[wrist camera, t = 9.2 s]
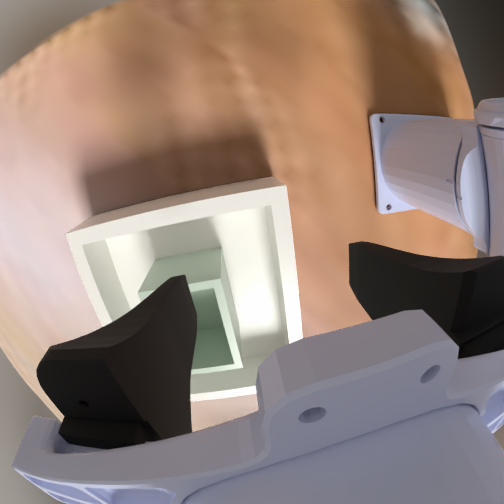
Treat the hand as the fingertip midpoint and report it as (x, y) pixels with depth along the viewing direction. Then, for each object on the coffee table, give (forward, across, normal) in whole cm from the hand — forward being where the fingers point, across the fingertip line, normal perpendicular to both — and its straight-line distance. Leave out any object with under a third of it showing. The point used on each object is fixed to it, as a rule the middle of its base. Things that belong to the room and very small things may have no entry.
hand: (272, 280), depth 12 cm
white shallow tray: (+9, +5, +5) cm, 12 cm away
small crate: (+8, +5, +5) cm, 11 cm away
